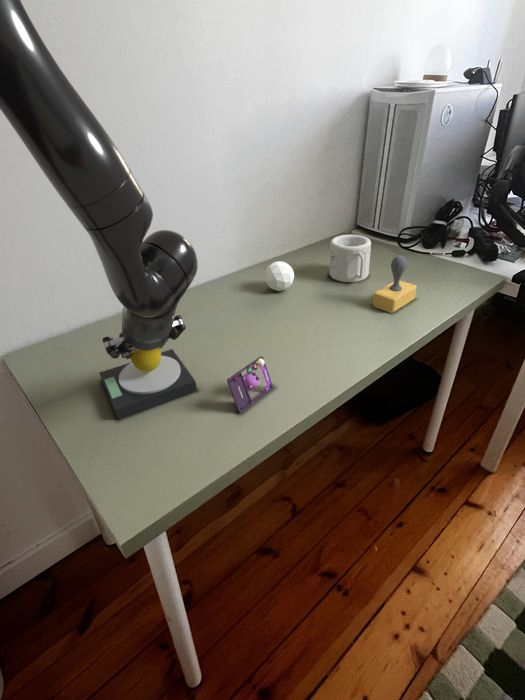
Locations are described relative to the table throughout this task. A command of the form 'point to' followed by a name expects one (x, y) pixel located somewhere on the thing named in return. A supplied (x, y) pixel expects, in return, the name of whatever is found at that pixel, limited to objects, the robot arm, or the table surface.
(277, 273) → the geometric ball
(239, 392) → the purple toy
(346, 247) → the mug
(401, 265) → the rubber stamp
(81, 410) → the table surface
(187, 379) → the scale
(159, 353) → the lemon
